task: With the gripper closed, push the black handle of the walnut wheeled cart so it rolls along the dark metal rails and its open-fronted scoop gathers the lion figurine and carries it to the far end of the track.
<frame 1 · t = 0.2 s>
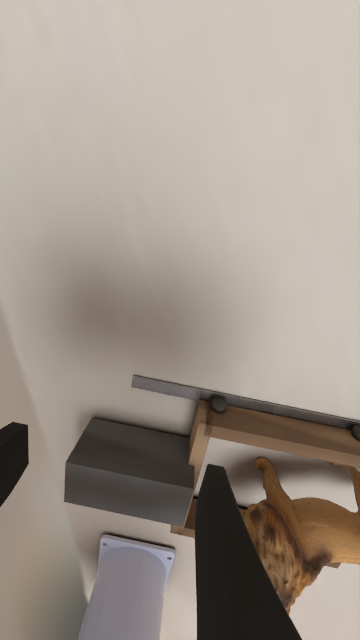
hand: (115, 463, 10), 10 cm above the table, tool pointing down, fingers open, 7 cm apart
lion figurine: (297, 473, 22), on the table
rail track: (319, 480, 22), on the table
cart: (220, 486, 20), point 2 cm above the table, slide at 0.0 cm
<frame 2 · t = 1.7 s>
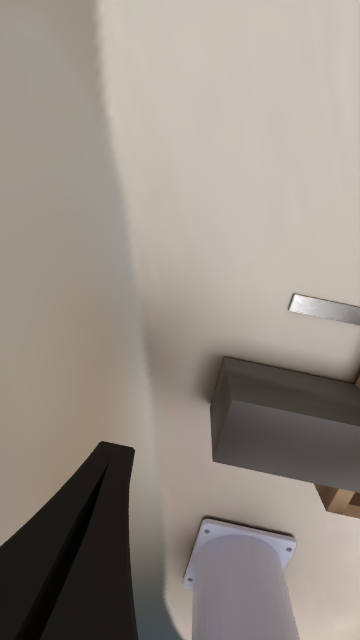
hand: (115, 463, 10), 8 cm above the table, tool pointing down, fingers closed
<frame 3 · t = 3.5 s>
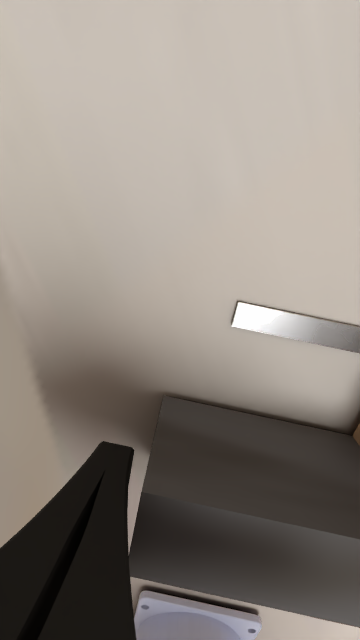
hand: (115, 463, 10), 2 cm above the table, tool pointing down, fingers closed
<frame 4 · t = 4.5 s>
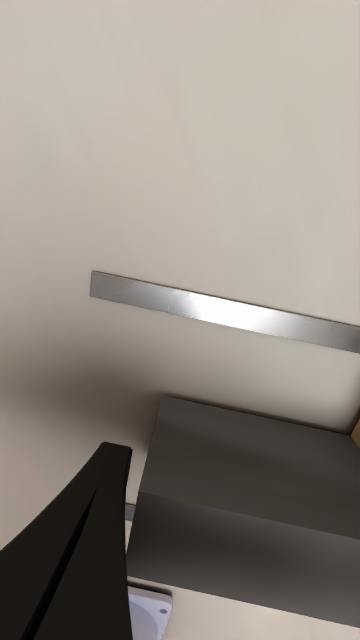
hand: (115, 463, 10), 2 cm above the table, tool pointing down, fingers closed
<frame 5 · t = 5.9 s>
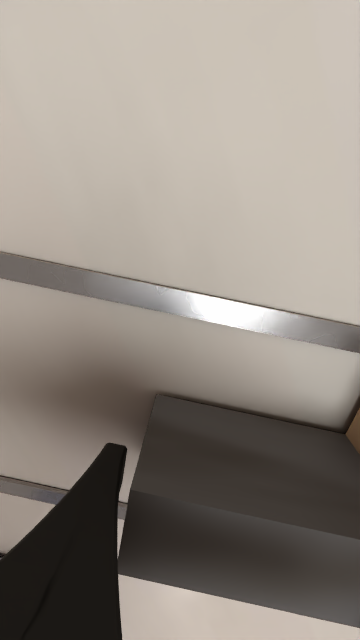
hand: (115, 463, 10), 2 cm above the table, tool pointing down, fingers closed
rail track: (323, 461, 12), on the table
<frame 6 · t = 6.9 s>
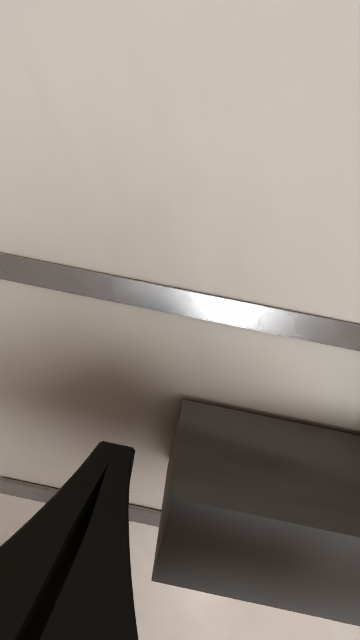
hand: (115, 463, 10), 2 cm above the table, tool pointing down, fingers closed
rail track: (350, 465, 12), on the table
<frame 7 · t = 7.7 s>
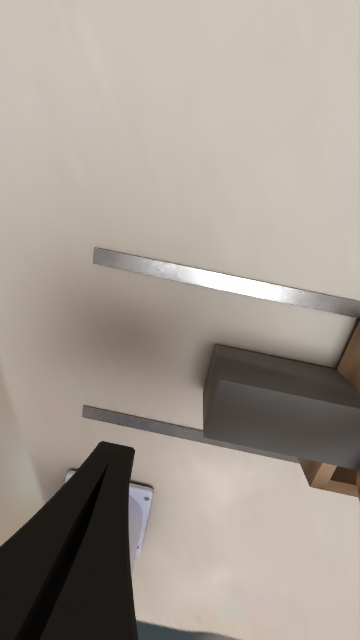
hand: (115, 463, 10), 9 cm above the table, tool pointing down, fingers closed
rail track: (323, 391, 18), on the table
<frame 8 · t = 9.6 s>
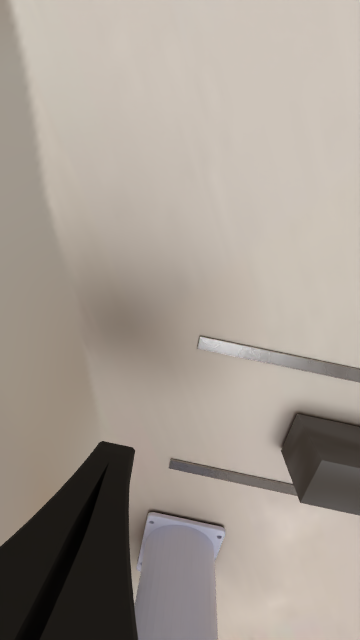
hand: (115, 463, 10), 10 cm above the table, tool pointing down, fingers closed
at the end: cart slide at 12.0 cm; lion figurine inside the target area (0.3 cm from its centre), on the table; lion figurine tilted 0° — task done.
